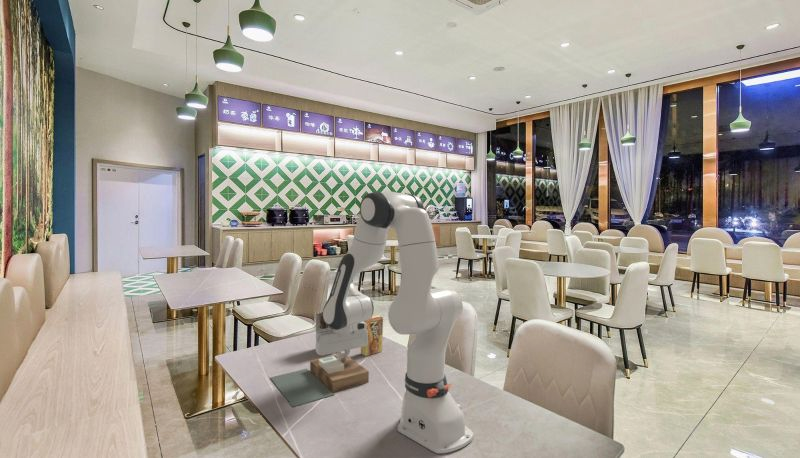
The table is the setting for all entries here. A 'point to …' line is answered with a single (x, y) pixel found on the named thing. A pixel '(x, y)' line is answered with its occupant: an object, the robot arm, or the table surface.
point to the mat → (301, 387)
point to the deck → (341, 374)
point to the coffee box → (320, 323)
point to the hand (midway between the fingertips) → (342, 361)
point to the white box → (331, 364)
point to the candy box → (373, 335)
